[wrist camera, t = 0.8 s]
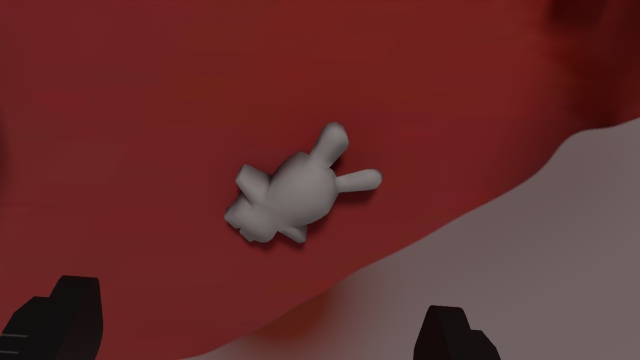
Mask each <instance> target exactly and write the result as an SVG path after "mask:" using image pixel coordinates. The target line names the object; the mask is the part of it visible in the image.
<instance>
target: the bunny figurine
mask: <svg viewBox="0 0 640 360" xmlns="http://www.w3.org/2000/svg"><path fill="white" fill-rule="evenodd" d="M348 144H349V141H348V138H347V135H346V132H345V129H344V127H343V126H342V125H340V124H338V123H336V122H333V123H328V124H327V125H326V126H325V127H323V129H322V131H321V133H320V135H319V137H318V139H317V141H316V143H315V145H314V147H313V149H312V151H311V153H310V155H308V154H306V153H304V152H299V153H296V154H294V155H292V156H291V157H289V158H288V159H287V160H285V161H284V162H283V163H282V164H281V165H280V166H279V167H278V168H277V170H276V171H275V172H274V174H273V175H270V174H267V173H265V172H262V171H260V170H258V169H255V168H253V167H251V166H248V165H246V164H245V165H243V166H242V167H241V168H240V169H239V171H238V175H237V178H236V181H235V182H236V183H237V185H238V186H239V187H240V189H241V190H242V192H241V193H240V194H239V195H238V197H237V198H236V199H235V201H234V202H233V203H232V205H231V206H229V207H228V208H227V210H226V213H225V216H224V219H225V220H226V221H227V222H228V223H230V224H231V225H232V226H233V227H234V228H241V229H240V232H239V233H241V234H242V235H243V236H244V237H245V238H246V239H247V240H248V241H249V242H252V241H254V240H256V241H258V242H268V241H269V240H271V239H272V238H273V237H274V235H275V234H276V232H277V231H279V232H281V233H283V234H284V235H286V236H288V237H289V238H291V239H293V240H294V241H296V242H298V243H302V242H305V241H306V234H307V224H310V223H312V222H314V221H317V220H319V219H321V218H322V217H323V216H325V215H326V214H328V213H329V211H330V209H331V207H332V205H333V203H334V202H335V200H336V198H337V196H338V194H339V192H351V191H363V190H371V189H375V188H377V187H378V186H379V184H380V183H381V181H382V180H383V175H382V173H381V172H380V171H378V170H376V169H367V170H362V171H359V172H355V173H351V174H347V175H343V176H339V177H336V175H335V173H334V172H333V170H332V169H330V168H329V167H330V166H331V165H332V164H333V163H334V162H335V161H336V160H337V159H338V158H339V156H340V155H341V154H342V153H343V152H344V151H345V150H346V149H347V147H348Z"/></svg>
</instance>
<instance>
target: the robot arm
mask: <svg viewBox="0 0 640 360" xmlns="http://www.w3.org/2000/svg"><path fill="white" fill-rule="evenodd" d="M102 334H103V315H102V305H101V295H100V285H99V280H98V279H97V278H93V277H80V276H67V275H63V276H62V277H61V278H60V279H59V280H58V282H57V284H56V286H55V287H54V289H53V291H52V293H51V295H50V296H49V297H37V296H34V297H33V298H32V299H30V300H29V301H28V302H27V303H25V304H24V305H23V306H22V307H21V308H19V309H18V310H17V311H16V312H14V314H13V315H12V317H11V319H10V320H9V322H8V324H7V325H6V327H5V328H4V330H3V332H2V336H1V337H0V360H95V358H96V355H97V353H98V350H99V347H100V344H101V340H102ZM413 360H501V359H500V356H499V354H498V351H497V349H496V347H495V346H494V345H493V344H492V343H491V342H490V340H489V339H488V338H487V337H486V335H485V334H484V333H483V332H482V331H481V330H471V329H470V326H469V323H468V321H467V318H466V315H465V313H464V311H463V309H462V308H460V307H448V306H435V305H434V306H433V305H431V306H430V307H429V309H428V311H427V313H426V316H425V319H424V322H423V324H422V327H421V330H420V333H419V336H418V338H417V341H416V344H415V348H414V355H413Z"/></svg>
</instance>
